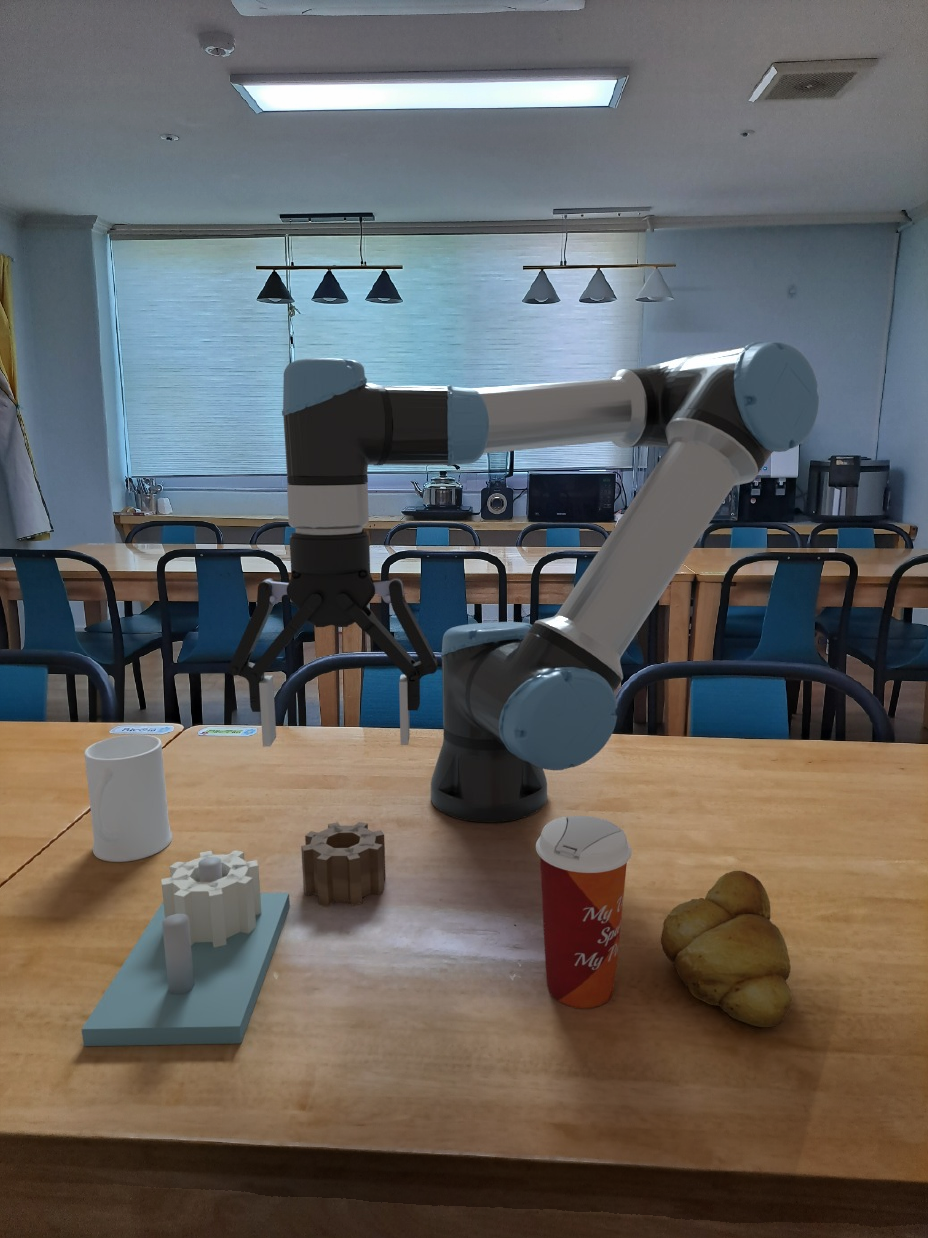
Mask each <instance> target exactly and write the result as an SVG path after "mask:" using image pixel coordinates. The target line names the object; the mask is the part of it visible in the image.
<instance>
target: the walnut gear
mask: <svg viewBox="0 0 928 1238" xmlns="http://www.w3.org/2000/svg"><path fill="white" fill-rule="evenodd" d="M304 841H305V842H304V843H305V844H304V845H301V846H300V847H301V864H302V865H301V868H302V884H303V886H302V887H303V892H304V894H305V896H306V897H307V896H311V895H315V896H318V905H322V906H325V907H330V905H332V904H333V903H335V902H336V903H337V902H349V905H350V907H352V906H357V905H361V904H362V903H363V902H362V901H363V899H362V898H363V897H366V896H367V895H370V894H374V895H380V894H381V893H382V892H383V891H384V890H385V884H384V883H385V880H384V879H386V875H387V874H386V851H385V850H386V847H385V845H386V844H385V843H386V842H385V834H384V832H383V831H382V830H381V829H379V830H374V831H372V830H371V829H369V825H368V823H367V822H362V821H358V822H357V823H355V824H352V825H340V823H339V822H338V821H336V822H332V823H328V824H327V828H326V829H323V830H321V831H317V832H316V831H311V830H310V831H309V832H308V833H306V834H305V835H304Z"/></svg>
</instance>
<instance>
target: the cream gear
mask: <svg viewBox="0 0 928 1238" xmlns="http://www.w3.org/2000/svg"><path fill="white" fill-rule="evenodd" d="M208 857H218V858H220V859H221V866H222V878H221V879H218V880H216V881H213V882H200V878H199V866H198V863H199V862H200V861H201V860H202V859H204V858H208ZM259 867H260V866H259V864H258V861H257V859H254V860H250V861H246V859H245V852H244V851H241V850H235V849H234V850H232V851H231V852H230V853H228V854H213V851H212V850H207V851H202V852H199V857H198V858H194V859H192V860H189V861H186V862H184V861H183V862H182V861H178V860H177V861H176V862H174V863H173V864H172V865H170V866H169V876H170V877H165V878H161V879H160V882H161V890H162V902H163V904H164V915H165V918H167V917H168V916H170V915H174V914H185V915H187V916H188V918H189V929H190V940H191V945H193V944H194V943H195V942H213V947H218V946H223V945H227V944H226V938H228V937H231V936H233V935H235V934H237V933H239V932H243V933H247V934H249V933H250V932H251V931H252V930H254V929H255V928H256V919H255V915H258V914H262V911H261V896H260V893H261V884H260V883H261V882H260V870H259V869H260V868H259Z"/></svg>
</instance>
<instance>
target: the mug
mask: <svg viewBox="0 0 928 1238" xmlns="http://www.w3.org/2000/svg"><path fill="white" fill-rule="evenodd" d="M84 760H85V761H84V762H85V769H86V771H85V772H86V780H87V788H88V789H87V790H88V798H89V807H90V814H91V815H90V817H91V824H92V825H91V826H92V834H93V843H92V844H93V845H92V853H93V855H94V856H95V857H96V858H97V859H100V860H101V861H104V862H108V863H109V862H110V863H111V862H112V863H127V862H132V861H138V860H142V859H145V858H148V857H151V856H154V855H156V854H157V853H161V851H163V850H165V849H166V848H167V847H168V846H169V845H170V844H171V842H172V840H173V832H172V830H171V828H170V821H169V812H168V811H169V809H168V802H167V789H166V788H167V787H166V778H165V767H164V755H163V744H162V740H161V739H160V738H159V737H157V736H154V735H148V734H126V735H119V736H113V737H110V738H104V739H102V740H100V741H97V742H95V743H92V744H90V745H89V746H88V747H86V749H85V750H84Z"/></svg>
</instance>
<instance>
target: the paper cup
mask: <svg viewBox="0 0 928 1238" xmlns="http://www.w3.org/2000/svg"><path fill="white" fill-rule="evenodd" d="M535 850H536V852H537V855H538V856H539V862H540V866H539V867H540V884H541V901H542V902H541V904H542V905H541V906H542V923H543V925H542V926H543V944H544V961H545V976H546V977H545V978H546V985H547V989H548V992H549V994H550V995H551V997H552V998H553V999H555V1000H556V1001H557V1002H559V1003H561V1004H562V1005H564V1006H566V1007H570V1008H575V1009H582V1010H586V1009H595V1008H598V1007H601V1006H603V1005H605V1004H607V1003H608V1002H609V1001H610V999H611V998H612V996H613V993H614V988H615V983H616V974H617V966H618V956H619V945H620V938H621V937H620V934H621V926H622V915H623V907H624V905H623V904H624V895H625V884H626V876H627V875H626V874H627V865H628V864H627V863H628V862H629V861H630V860H631V857H632V848H631V845H630V844H629V842H628V838H627V835H626V833H625V831H624V830H623V829H622V828H621V827H619V826H618V825H617V824H615V823H614V822H612V821H609V820H607V819H604V818H600V817H595V816H589V815H567V816H560V817H557V818H555V819H553V820H551V821H548V822H547V823H546V824H545V826H543V828H542V829H541V833H540V836H539V837H538V839H537V841H536V843H535Z"/></svg>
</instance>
